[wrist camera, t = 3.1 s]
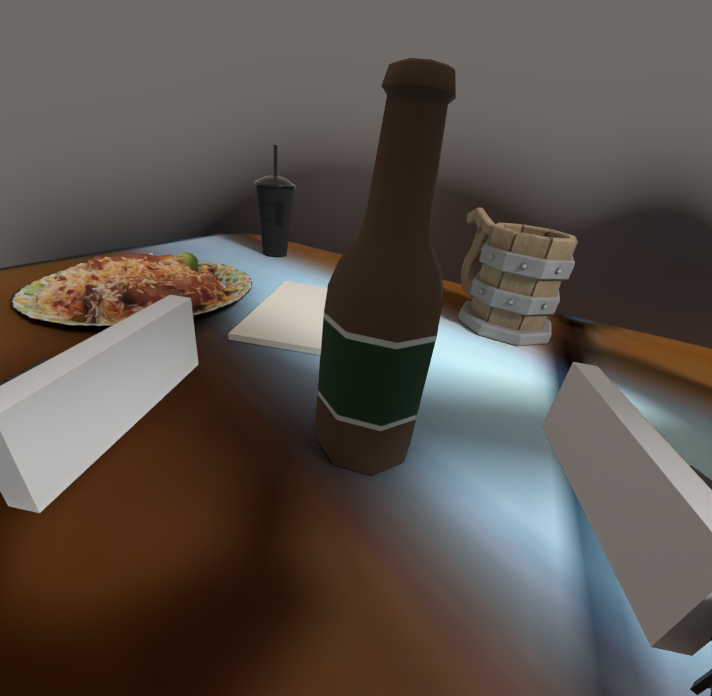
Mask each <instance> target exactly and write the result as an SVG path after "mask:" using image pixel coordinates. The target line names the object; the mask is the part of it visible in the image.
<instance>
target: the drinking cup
mask: <svg viewBox="0 0 712 696" xmlns="http://www.w3.org/2000/svg"><path fill="white" fill-rule="evenodd" d="M255 184H256V187H257V197H258V206H259V216H260V226H261V236H262V246H263V254H264V255H267V256H271V257H283V256H286V255H287V248H288V238H289V229H290V220H291V211H292V202H293V193H294V188H295V187H296V186H295V185H294V184H292V183H291V182H290V181H288V180H287V179H285V178H282V177H279V176H277V145H274V176H265V177H263V178H260V179H259V180H256V181H255Z"/></svg>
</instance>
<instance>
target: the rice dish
mask: <svg viewBox="0 0 712 696" xmlns="http://www.w3.org/2000/svg"><path fill="white" fill-rule="evenodd" d="M248 276H249V275H247V274H246V273H245V272H242V271H239V270H238V269H236V268H232V267H229V266H226V265H222V264H214V263H210V262H203V261H198V260H197V258H196V257H195V256H194V255H192V254H191V253H181V254H178V255H177V256H176V257H174V256H172V255H164V256H155V255H153V254H152V253H150V254H138V255H134V254H133V255H119V256H115V257H105V258H102V257H95V258H94V259H93V260H89V262H87V263H81V264H78V265H77V266H76V267H71V268H68V269H67V270H65V271H59V272H58V273H55V274H51V275H49V276H46V277H43V278H41V279H39V280H36V281H33V282H31V283H29V284H28V285H25V286H24V287H23V288H21V289H19V290H18V291H17V292H16V293H15V294H12V297H13V298H11V299H10V301H9V302H11V303H10V305H12V306H13V307H14V308H15V309H17V310H18V311H19V312H21V313H22V314H25V315H27V316H29V318H33V319H39V320H44V321H48V322H55V323H60V324H64V325H84V326H89V325H92V326H104V325H111V326H113V325H115V324H117V323H118V322H120V321H122V320H124V319H126V318H128V317H130V316H131V315H133V314H135V313H137V312H139V311H141V310H143V309H144V308H146V307H148V306H150V305H152V304H154V303H156V302H157V301H159V300H161V299H163V298H165V297H167V296H169V295H176V296H182V297H188V298H191V303H192V312H193V316H194V315H197V314H204V313H205V312H210V311H214V310H216V309H219V308H221V307H224V306H226V305H229V304H233V302H235V301H238V300H240V299H241V298H242V297H243V296H244V295H246V293H248V292H249V291H250V289H251V288H252V287H251V286H252V282H251V281H250V280H251V278H249V277H248ZM219 281H220V282H219ZM221 282H222V283H223V284H224V285H226V288H223V286H222V285H221V284H220V283H221ZM86 313H88V314H87V315H86V316H85V318H86V322H83V323H78V322H74V321H70V319H71V318H72V316H74V315H78V314H86Z"/></svg>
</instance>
